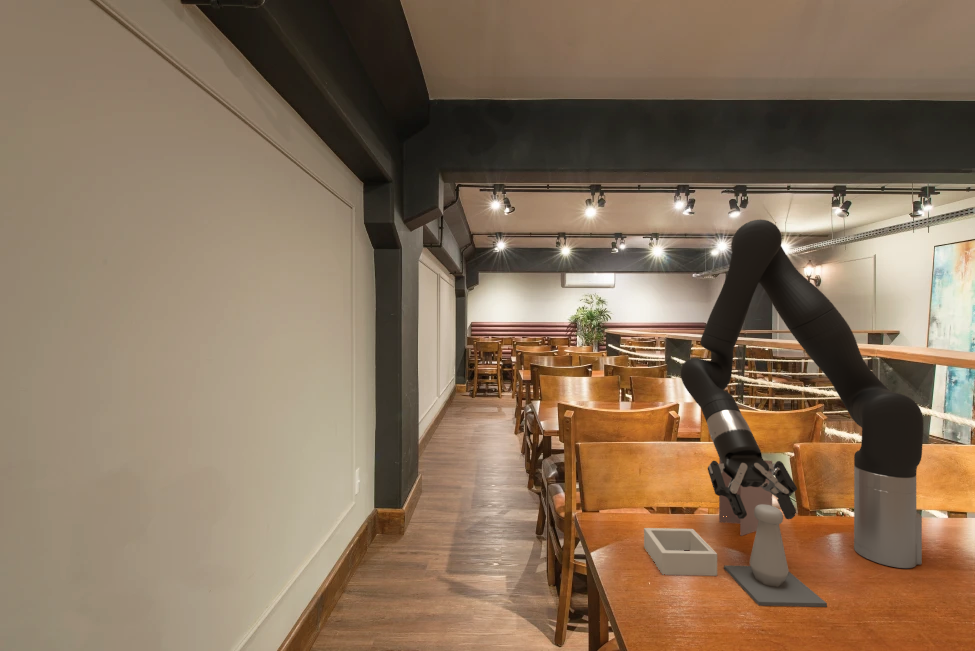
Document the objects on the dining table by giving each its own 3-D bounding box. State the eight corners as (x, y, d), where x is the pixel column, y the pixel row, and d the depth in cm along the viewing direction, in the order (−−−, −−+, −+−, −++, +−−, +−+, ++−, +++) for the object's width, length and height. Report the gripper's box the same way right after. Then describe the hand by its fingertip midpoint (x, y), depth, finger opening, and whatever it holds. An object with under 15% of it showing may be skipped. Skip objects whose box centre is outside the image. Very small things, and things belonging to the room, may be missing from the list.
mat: (782, 569, 82) (782, 566, 82) (826, 606, 71) (826, 603, 71) (723, 568, 83) (723, 565, 83) (758, 605, 72) (758, 601, 72)
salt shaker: (776, 572, 80) (776, 501, 80) (795, 590, 75) (795, 514, 75) (743, 570, 81) (743, 500, 81) (759, 588, 75) (759, 513, 75)
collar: (692, 548, 90) (692, 528, 90) (717, 575, 80) (717, 553, 80) (643, 547, 90) (644, 528, 90) (662, 574, 80) (662, 552, 80)
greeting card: (770, 524, 102) (770, 459, 102) (787, 539, 94) (787, 469, 94) (717, 520, 103) (718, 457, 103) (730, 535, 96) (730, 467, 96)
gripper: (703, 427, 88) (735, 508, 76) (775, 427, 87) (818, 508, 76) (691, 447, 93) (719, 525, 81) (759, 447, 93) (797, 525, 81)
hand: (767, 517), depth 79 cm, fingers open, 8 cm apart
